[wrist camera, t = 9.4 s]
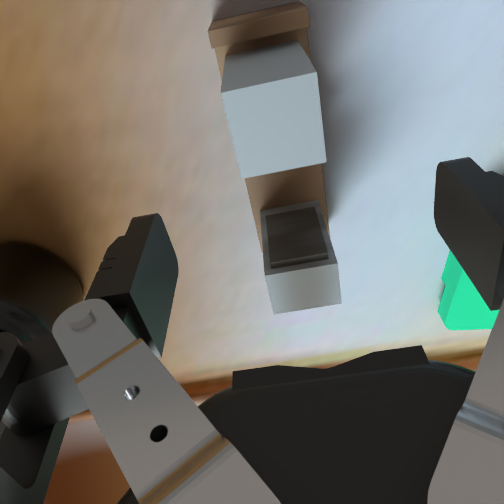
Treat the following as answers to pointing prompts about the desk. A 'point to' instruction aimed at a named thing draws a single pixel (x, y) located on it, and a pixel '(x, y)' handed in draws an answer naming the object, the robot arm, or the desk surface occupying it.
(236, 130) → the finger block
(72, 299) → the ink bottle
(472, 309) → the camera mount
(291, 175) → the rail
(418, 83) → the desk surface
